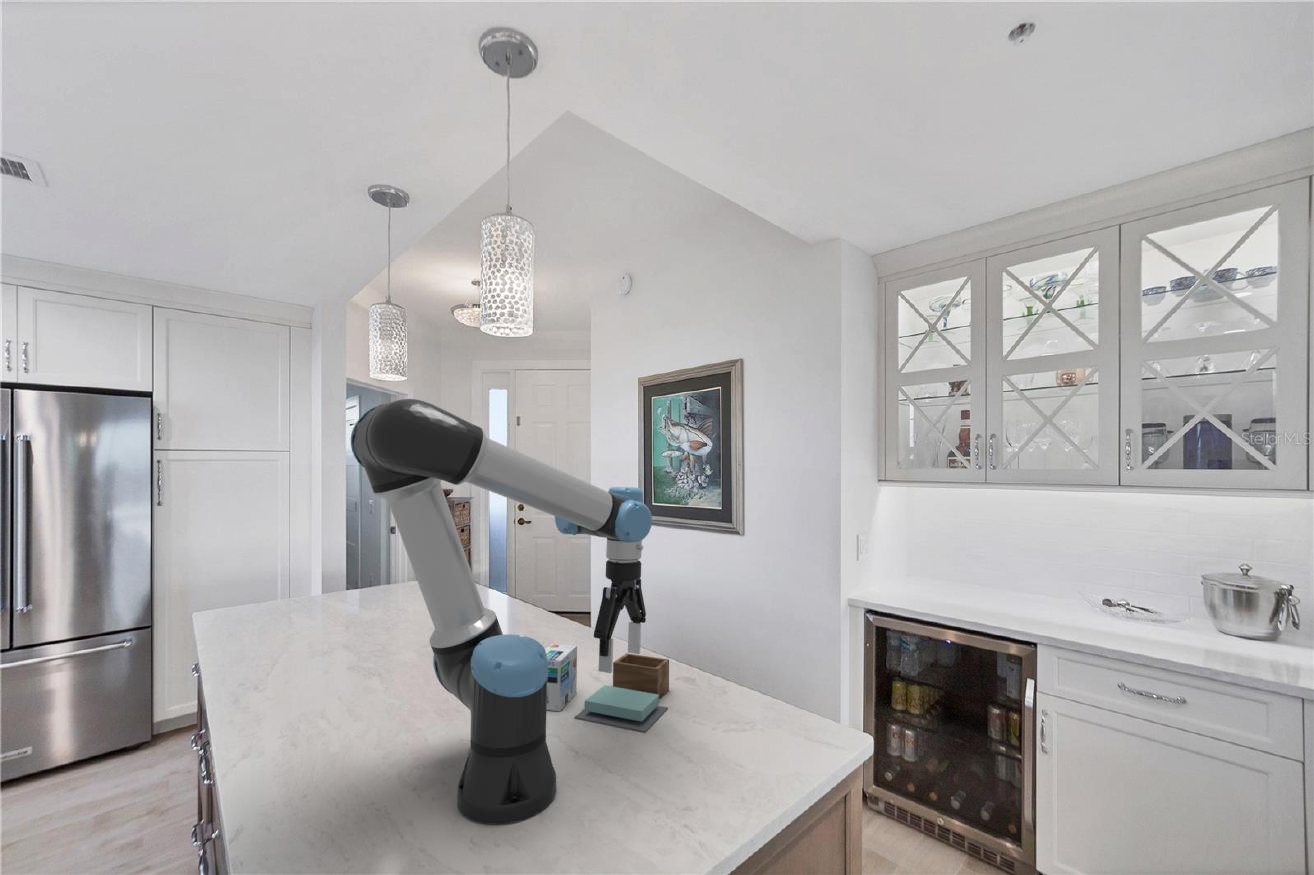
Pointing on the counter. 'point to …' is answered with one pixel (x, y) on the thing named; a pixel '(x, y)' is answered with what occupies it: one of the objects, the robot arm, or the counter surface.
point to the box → (642, 674)
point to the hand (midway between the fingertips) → (620, 662)
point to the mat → (623, 719)
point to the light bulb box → (561, 675)
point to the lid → (622, 703)
